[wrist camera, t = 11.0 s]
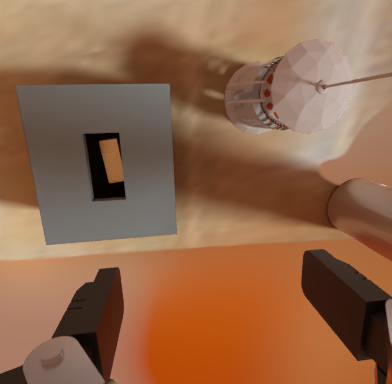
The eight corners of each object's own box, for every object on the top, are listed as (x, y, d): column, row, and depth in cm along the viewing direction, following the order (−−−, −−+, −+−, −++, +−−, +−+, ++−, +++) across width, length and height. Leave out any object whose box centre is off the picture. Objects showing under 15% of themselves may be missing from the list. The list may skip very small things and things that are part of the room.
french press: (288, 133, 39) (491, 156, 16) (211, 136, 38) (307, 167, 14) (293, 61, 37) (546, -46, 13) (210, 61, 35) (326, -59, 11)
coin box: (165, 92, 35) (169, 83, 26) (171, 206, 40) (176, 233, 30) (54, 94, 34) (15, 84, 24) (73, 213, 38) (46, 245, 28)
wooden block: (122, 135, 36) (116, 138, 30) (130, 171, 38) (125, 180, 32) (107, 137, 36) (98, 141, 30) (116, 173, 37) (109, 183, 32)
